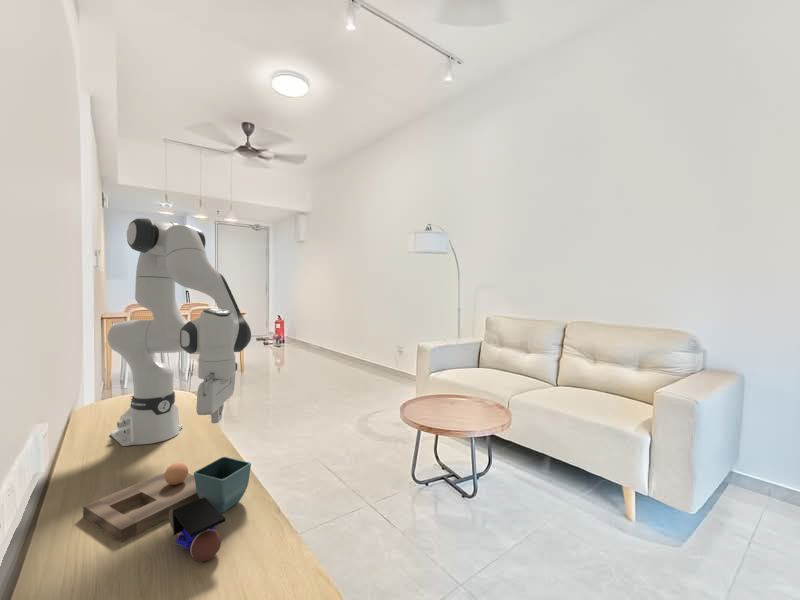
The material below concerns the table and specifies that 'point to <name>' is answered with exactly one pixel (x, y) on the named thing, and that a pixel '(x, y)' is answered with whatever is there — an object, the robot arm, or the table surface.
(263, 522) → the table surface
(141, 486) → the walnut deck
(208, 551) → the figurine character
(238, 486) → the flower pot
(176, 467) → the rubber ball
